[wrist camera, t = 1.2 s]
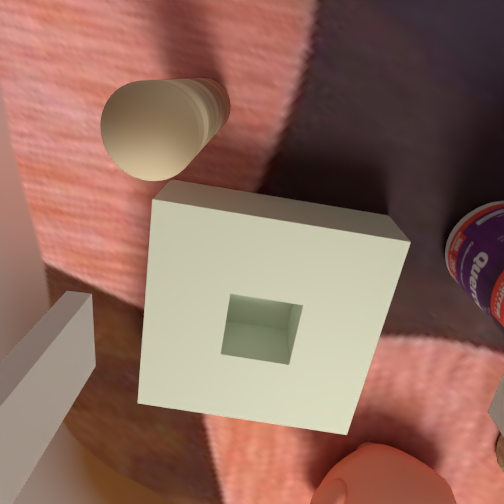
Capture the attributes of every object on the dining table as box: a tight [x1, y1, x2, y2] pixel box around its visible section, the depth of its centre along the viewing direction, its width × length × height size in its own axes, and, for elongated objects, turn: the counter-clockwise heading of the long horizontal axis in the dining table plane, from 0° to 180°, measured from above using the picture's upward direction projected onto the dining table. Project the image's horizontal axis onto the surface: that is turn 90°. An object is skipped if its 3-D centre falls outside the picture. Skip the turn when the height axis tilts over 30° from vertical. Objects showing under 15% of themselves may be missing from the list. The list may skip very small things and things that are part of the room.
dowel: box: [101, 78, 230, 181], centre depth 25 cm, size 4×4×16 cm
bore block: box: [138, 179, 411, 435], centre depth 35 cm, size 18×18×6 cm
